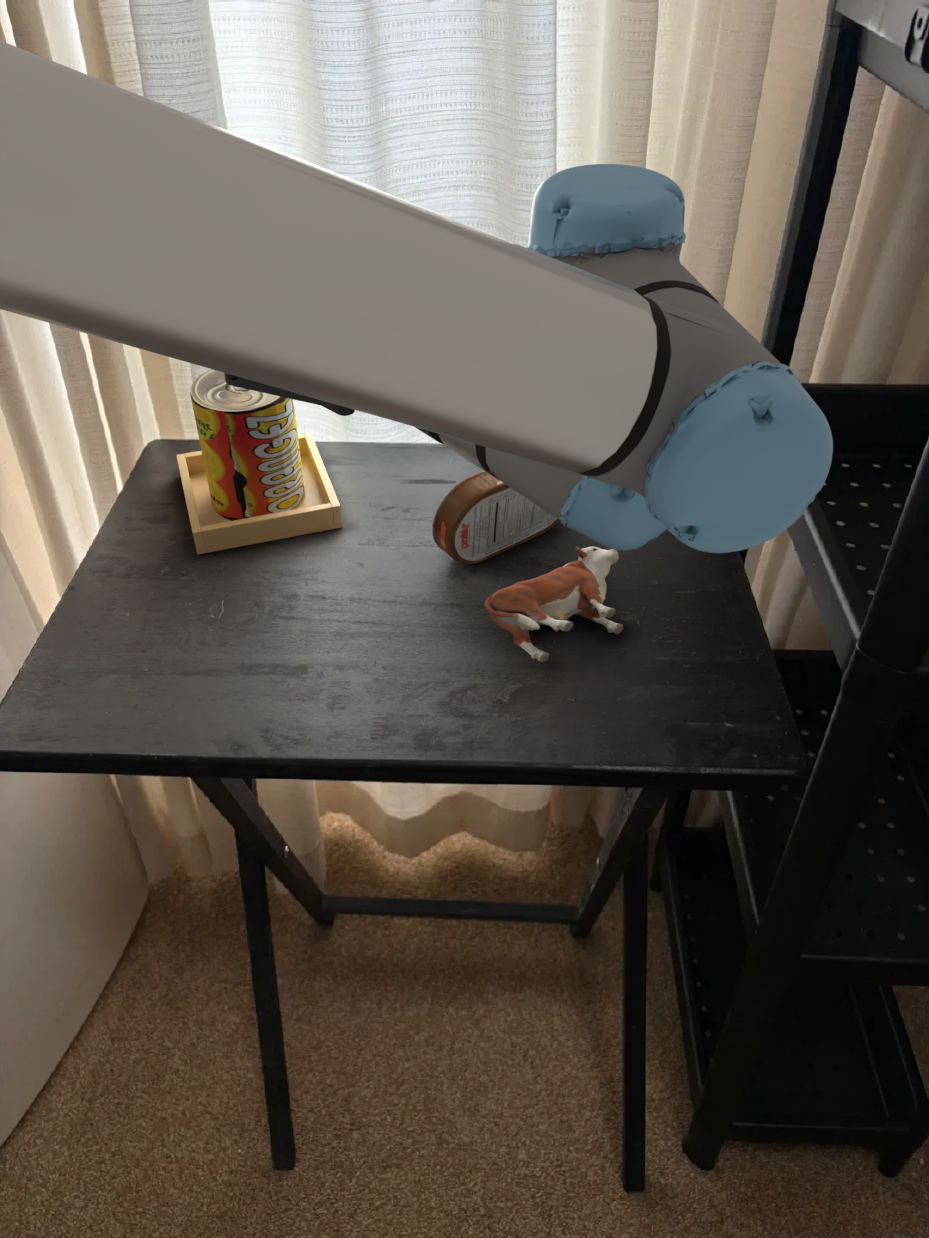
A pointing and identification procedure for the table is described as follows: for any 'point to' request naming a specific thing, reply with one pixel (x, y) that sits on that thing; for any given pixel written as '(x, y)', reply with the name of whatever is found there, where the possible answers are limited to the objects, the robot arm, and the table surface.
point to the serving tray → (223, 534)
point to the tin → (486, 519)
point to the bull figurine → (556, 599)
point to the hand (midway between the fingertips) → (287, 285)
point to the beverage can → (247, 448)
